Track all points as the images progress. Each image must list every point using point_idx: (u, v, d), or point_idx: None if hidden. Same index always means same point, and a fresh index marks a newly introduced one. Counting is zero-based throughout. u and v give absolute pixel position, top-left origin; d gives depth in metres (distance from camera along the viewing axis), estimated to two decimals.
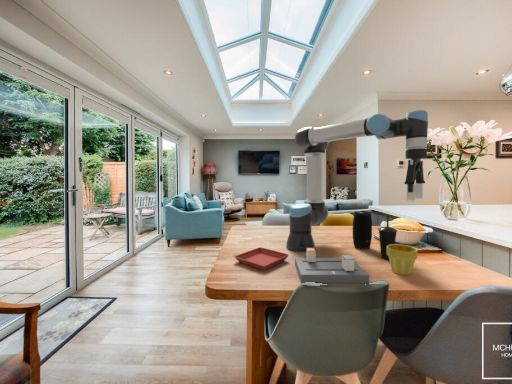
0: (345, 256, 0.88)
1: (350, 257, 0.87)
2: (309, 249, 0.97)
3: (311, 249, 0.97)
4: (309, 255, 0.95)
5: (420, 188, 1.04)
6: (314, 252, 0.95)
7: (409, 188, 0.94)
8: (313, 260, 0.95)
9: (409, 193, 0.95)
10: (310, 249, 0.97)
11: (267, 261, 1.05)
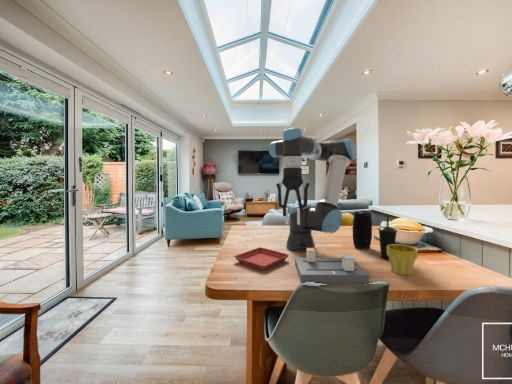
0: (345, 256, 0.88)
1: (350, 257, 0.87)
2: (309, 249, 0.97)
3: (311, 249, 0.97)
4: (309, 255, 0.95)
5: (297, 214, 0.96)
6: (314, 252, 0.95)
7: None
8: (313, 260, 0.95)
9: None
10: (310, 249, 0.97)
11: (267, 261, 1.05)
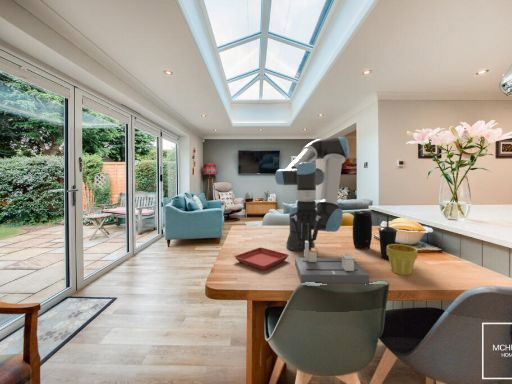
0: (345, 256, 0.88)
1: (350, 257, 0.87)
2: None
3: (312, 249, 0.97)
4: (310, 255, 0.95)
5: None
6: (315, 252, 0.95)
7: (301, 245, 0.97)
8: (314, 260, 0.95)
9: (304, 250, 0.98)
10: (311, 249, 0.97)
11: (267, 261, 1.05)
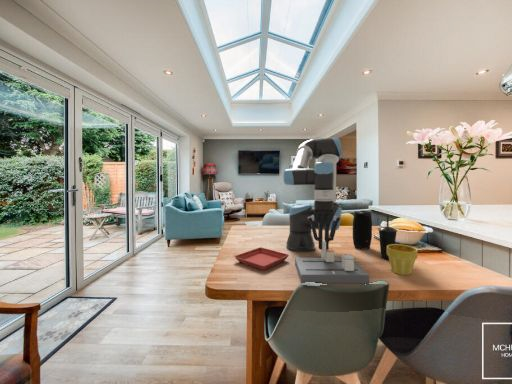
0: (345, 256, 0.88)
1: (350, 257, 0.87)
2: None
3: (329, 249, 0.97)
4: (328, 255, 0.95)
5: None
6: (333, 252, 0.95)
7: None
8: (332, 260, 0.95)
9: (321, 250, 0.97)
10: (328, 249, 0.97)
11: (267, 261, 1.05)
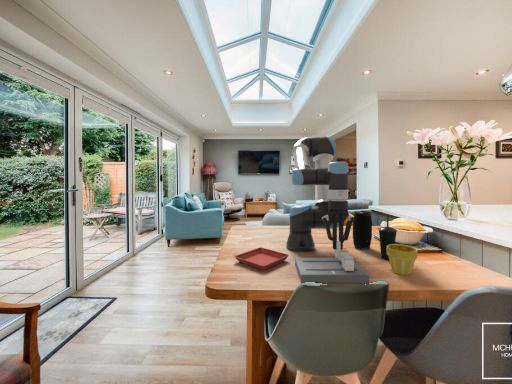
0: (345, 256, 0.88)
1: (350, 257, 0.87)
2: None
3: (343, 249, 0.96)
4: None
5: None
6: (347, 252, 0.94)
7: None
8: None
9: (335, 250, 0.97)
10: (342, 249, 0.96)
11: (267, 261, 1.05)
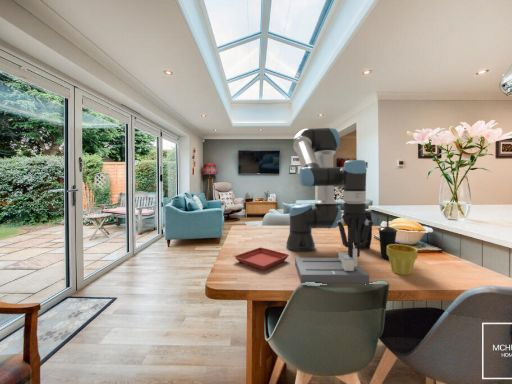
0: (345, 256, 0.88)
1: (350, 257, 0.87)
2: (342, 249, 0.96)
3: (344, 249, 0.96)
4: None
5: None
6: None
7: (348, 252, 0.88)
8: None
9: None
10: (343, 249, 0.96)
11: (267, 261, 1.05)
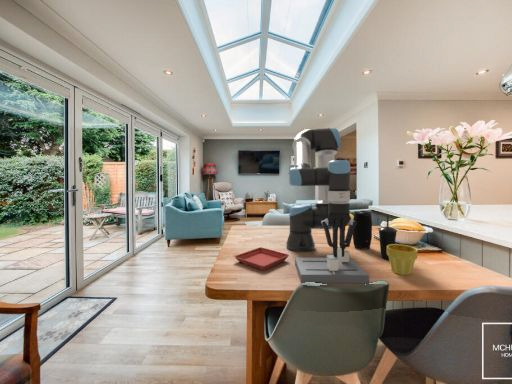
0: (330, 256, 0.88)
1: (334, 257, 0.87)
2: None
3: (344, 249, 0.96)
4: None
5: None
6: (348, 252, 0.94)
7: (333, 252, 0.88)
8: (346, 260, 0.95)
9: None
10: None
11: (267, 261, 1.05)
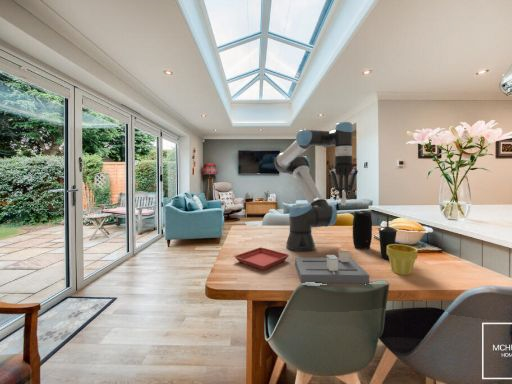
0: (329, 256, 0.88)
1: (334, 257, 0.87)
2: (342, 249, 0.96)
3: (344, 249, 0.96)
4: (342, 255, 0.95)
5: None
6: (348, 252, 0.94)
7: (339, 195, 1.13)
8: (346, 260, 0.95)
9: (341, 199, 1.13)
10: (343, 249, 0.96)
11: (267, 261, 1.05)
